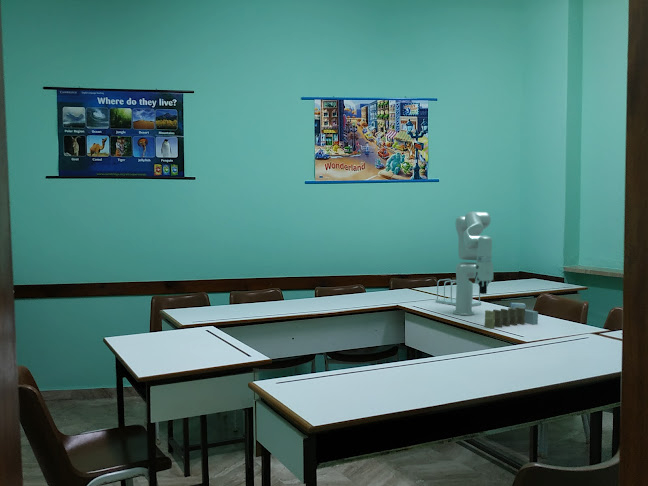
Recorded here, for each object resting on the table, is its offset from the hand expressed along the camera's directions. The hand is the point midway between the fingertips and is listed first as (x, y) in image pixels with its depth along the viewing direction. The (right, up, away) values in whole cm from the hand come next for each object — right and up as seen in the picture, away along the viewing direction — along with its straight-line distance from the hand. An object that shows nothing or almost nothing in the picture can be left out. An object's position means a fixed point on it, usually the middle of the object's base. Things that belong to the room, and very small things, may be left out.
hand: (482, 293), depth 337 cm
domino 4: (+20, -19, +14) cm, 31 cm away
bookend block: (+31, -18, +21) cm, 42 cm away
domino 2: (+10, -19, +8) cm, 23 cm away
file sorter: (+5, -14, +84) cm, 85 cm away
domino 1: (+5, -19, +4) cm, 20 cm away
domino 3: (+15, -19, +11) cm, 26 cm away
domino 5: (+25, -19, +17) cm, 36 cm away
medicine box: (+30, -18, +36) cm, 50 cm away
